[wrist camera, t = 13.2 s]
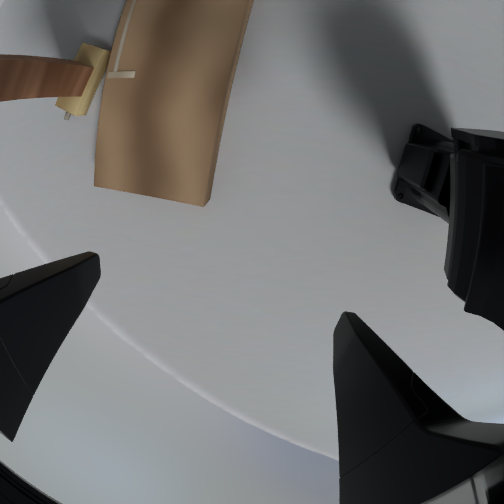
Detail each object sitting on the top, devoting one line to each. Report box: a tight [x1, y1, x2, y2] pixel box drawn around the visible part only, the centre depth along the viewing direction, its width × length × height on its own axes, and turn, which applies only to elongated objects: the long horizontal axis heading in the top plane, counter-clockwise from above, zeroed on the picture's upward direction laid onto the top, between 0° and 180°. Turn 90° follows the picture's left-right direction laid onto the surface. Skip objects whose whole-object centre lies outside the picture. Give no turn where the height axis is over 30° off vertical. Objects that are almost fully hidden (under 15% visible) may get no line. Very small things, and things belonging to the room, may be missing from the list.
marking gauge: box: [0, 43, 111, 120], centre depth 12 cm, size 3×7×12 cm, turn 149°
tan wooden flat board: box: [94, 0, 254, 207], centre depth 15 cm, size 10×22×2 cm, turn 168°
